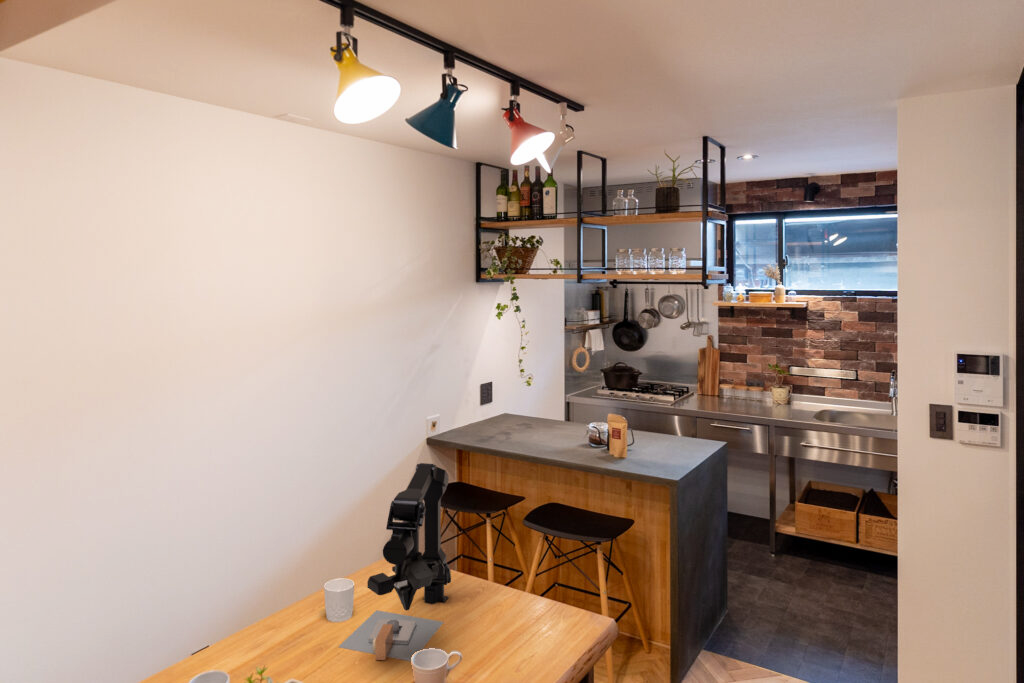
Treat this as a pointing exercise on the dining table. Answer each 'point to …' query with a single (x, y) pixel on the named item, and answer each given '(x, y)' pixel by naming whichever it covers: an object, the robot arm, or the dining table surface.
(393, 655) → the slate board
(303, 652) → the dining table surface
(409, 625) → the flange plate
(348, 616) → the white cup
